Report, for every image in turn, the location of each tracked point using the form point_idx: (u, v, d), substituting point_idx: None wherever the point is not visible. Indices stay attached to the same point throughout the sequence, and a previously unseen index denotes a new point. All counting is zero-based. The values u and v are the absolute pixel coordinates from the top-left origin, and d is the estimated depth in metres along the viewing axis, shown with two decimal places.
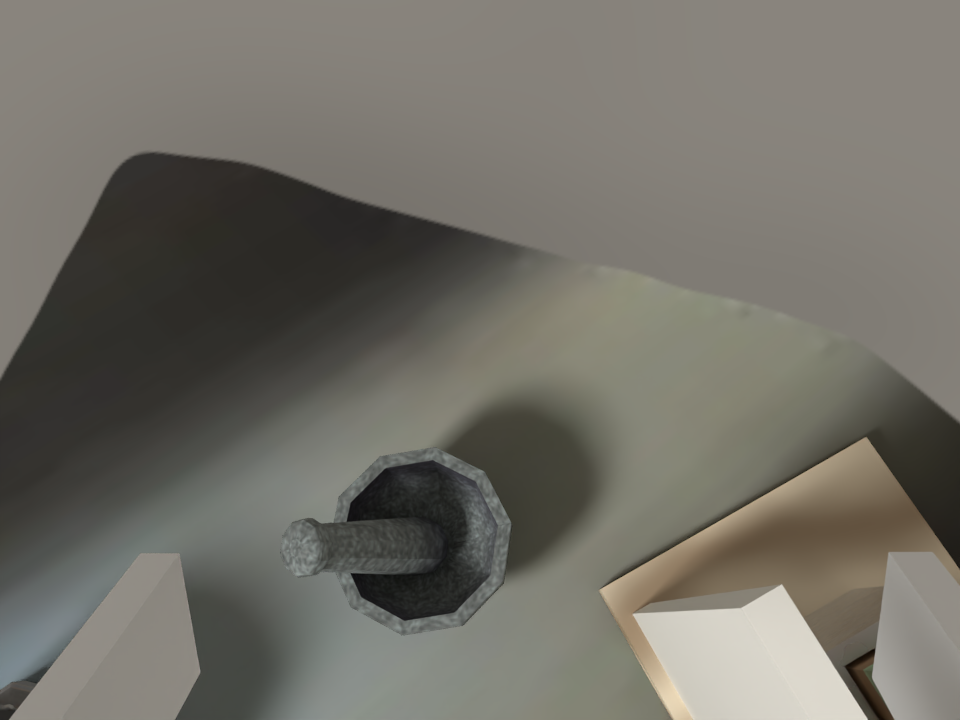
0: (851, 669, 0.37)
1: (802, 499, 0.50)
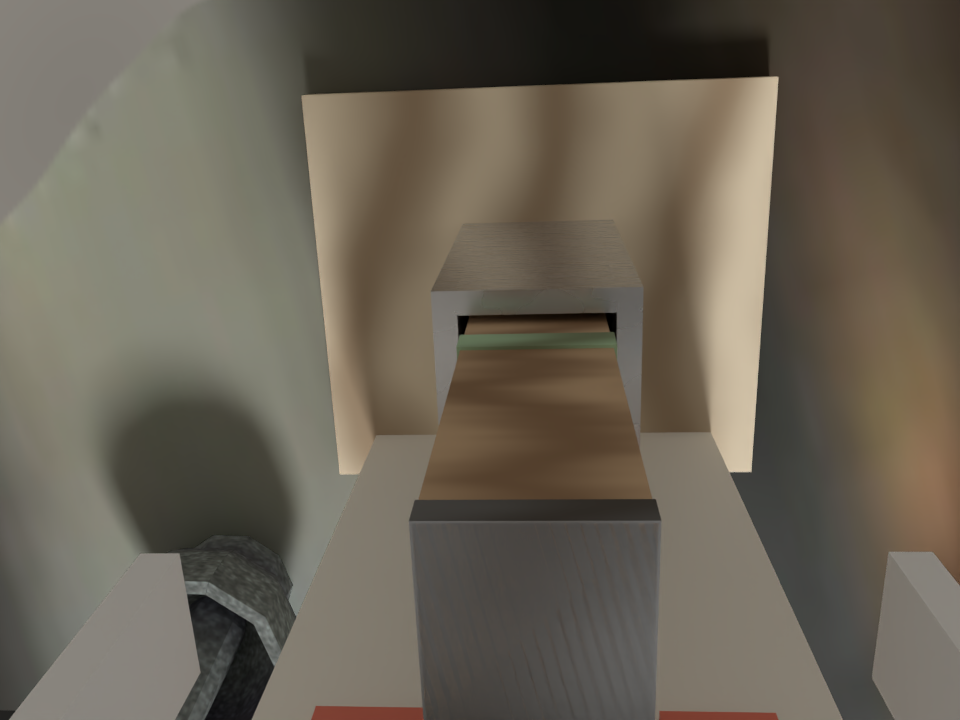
0: None
1: (341, 217, 0.39)
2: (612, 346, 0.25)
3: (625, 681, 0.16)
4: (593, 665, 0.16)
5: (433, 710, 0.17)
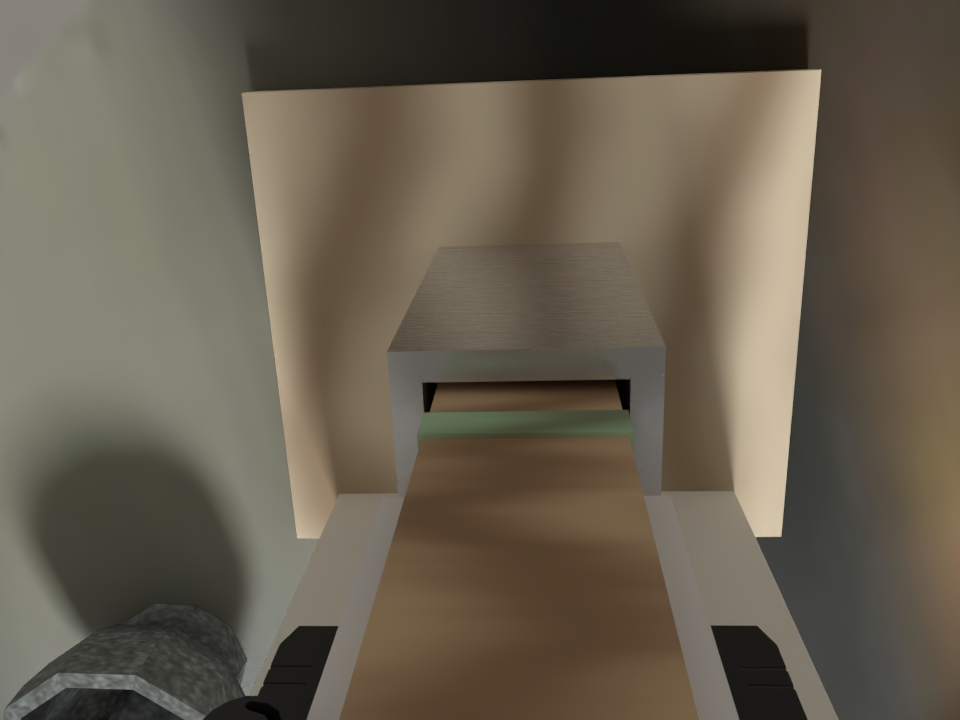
0: None
1: (292, 239, 0.32)
2: (627, 434, 0.18)
3: None
4: None
5: None
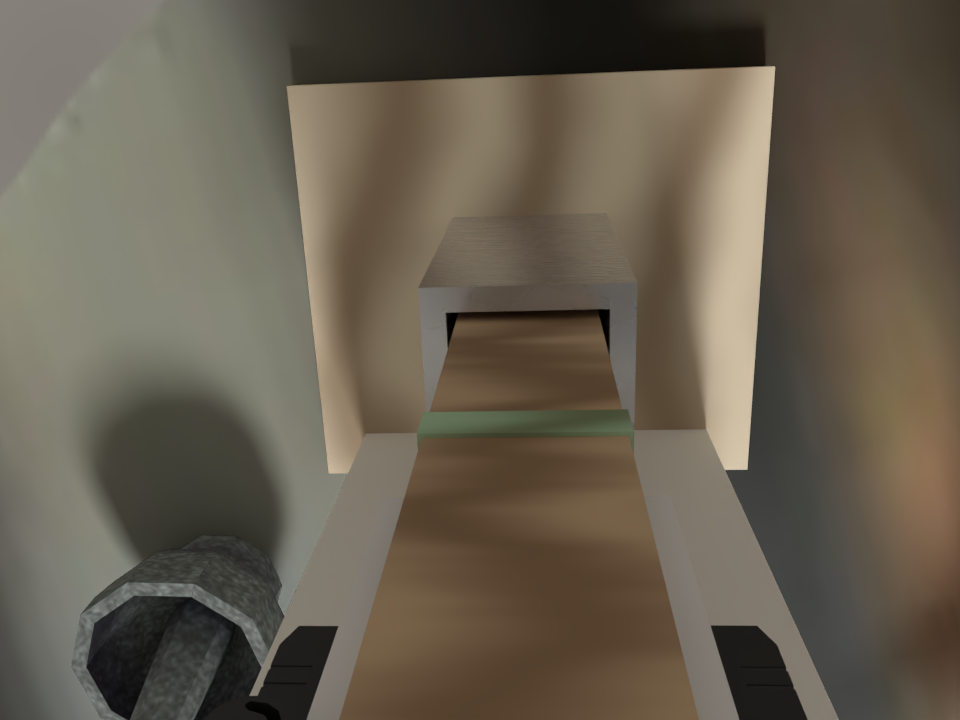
0: None
1: (328, 211, 0.38)
2: (627, 434, 0.18)
3: None
4: None
5: None
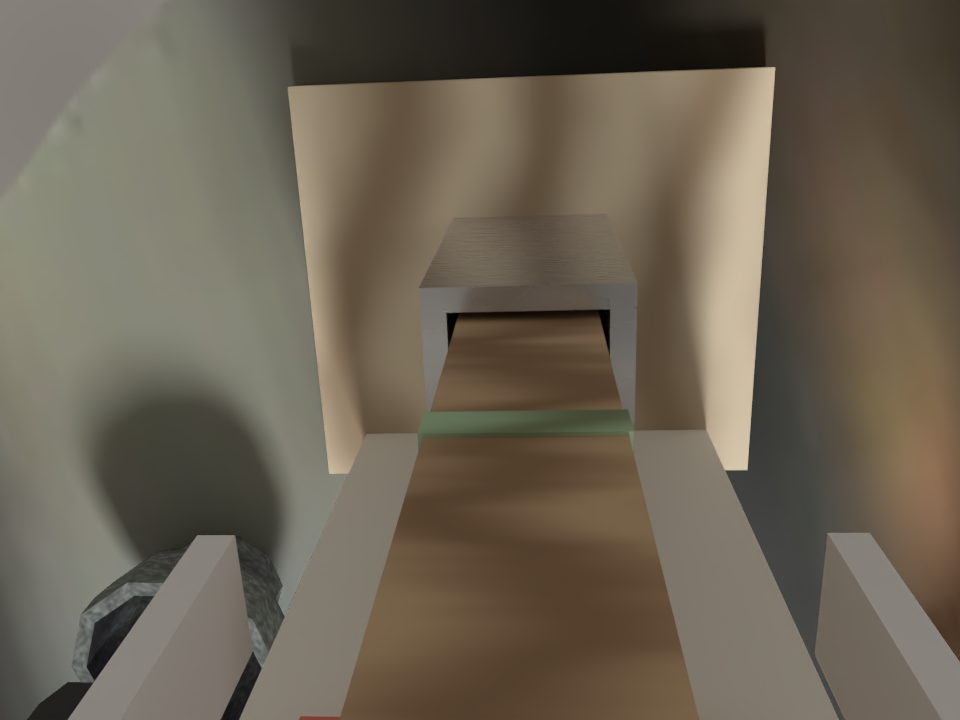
0: None
1: (329, 211, 0.38)
2: (627, 434, 0.18)
3: None
4: None
5: None
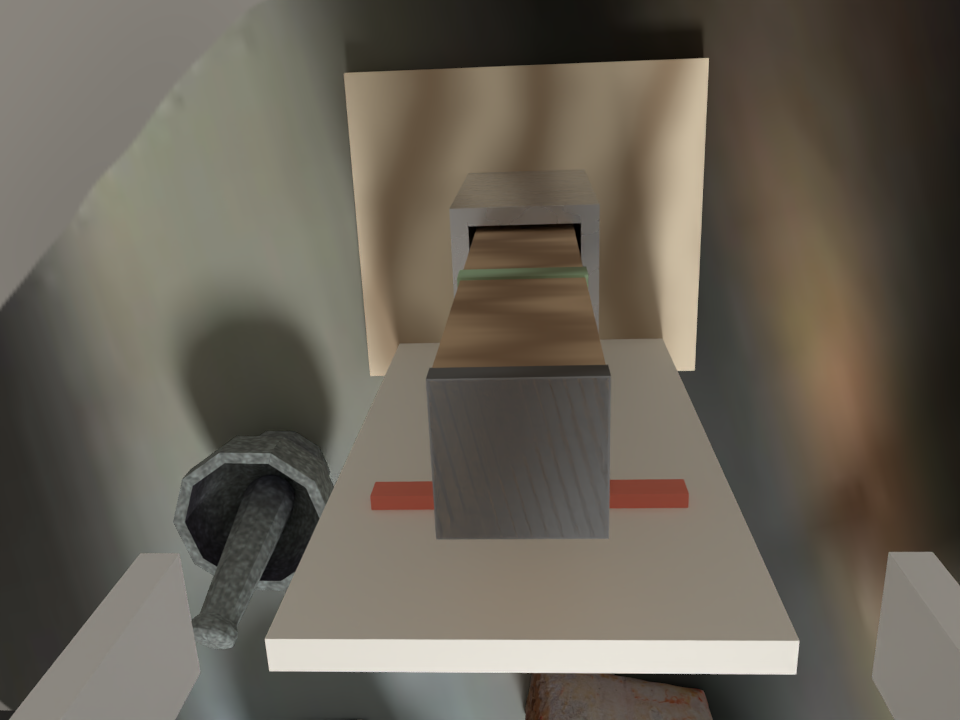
0: None
1: (373, 168, 0.50)
2: (584, 276, 0.30)
3: (586, 502, 0.22)
4: (562, 490, 0.22)
5: (443, 529, 0.23)
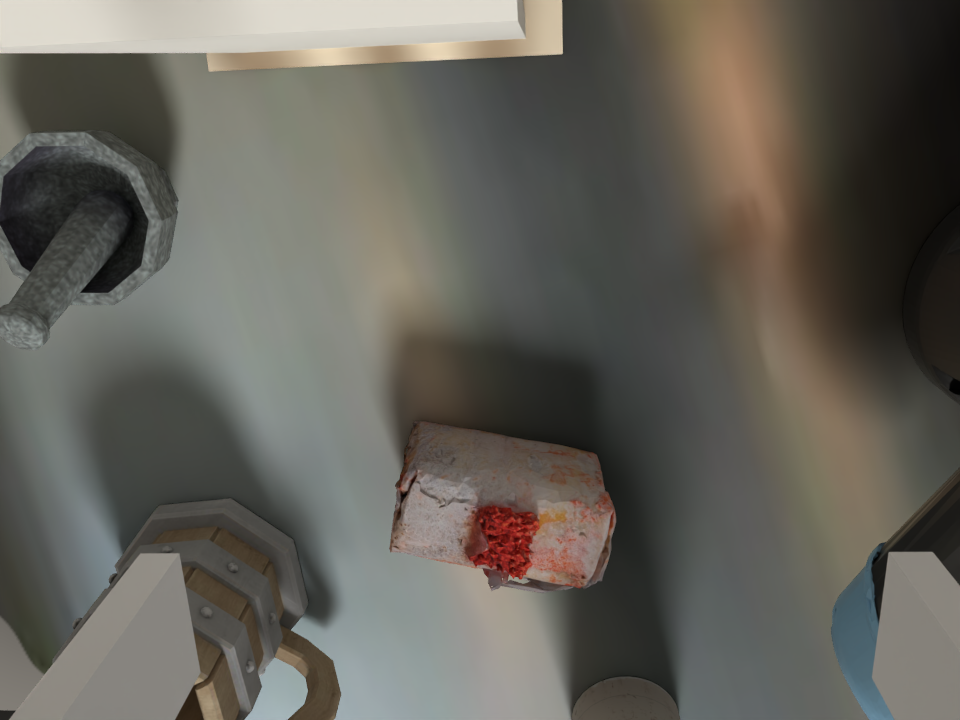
0: None
1: None
2: None
3: None
4: None
5: None
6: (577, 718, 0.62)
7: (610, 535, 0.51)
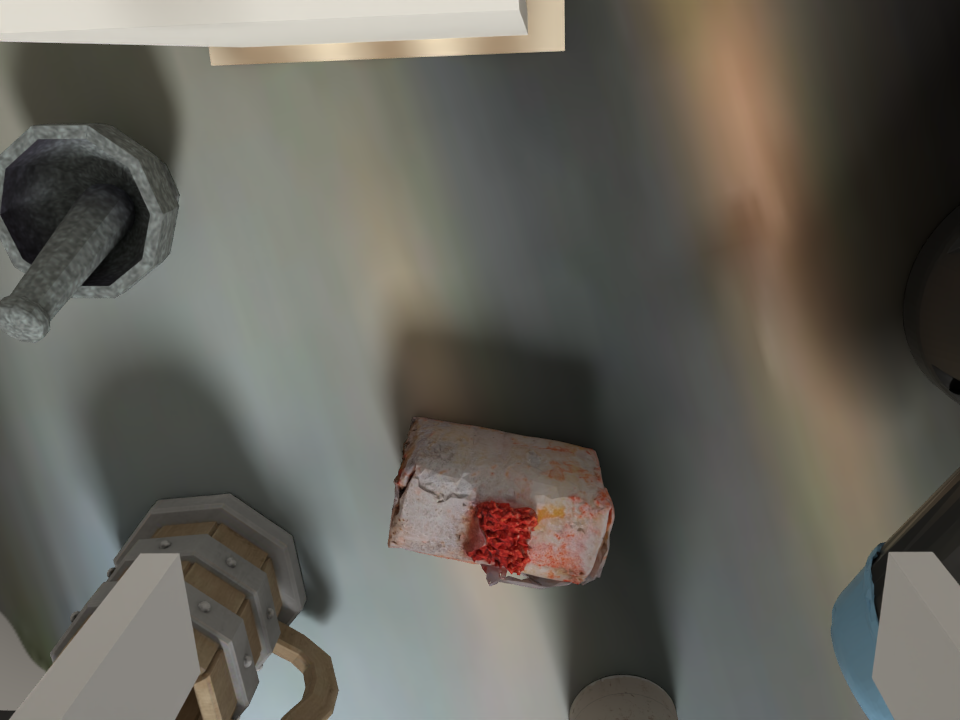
0: None
1: None
2: None
3: None
4: None
5: None
6: (574, 716, 0.62)
7: (608, 531, 0.51)
